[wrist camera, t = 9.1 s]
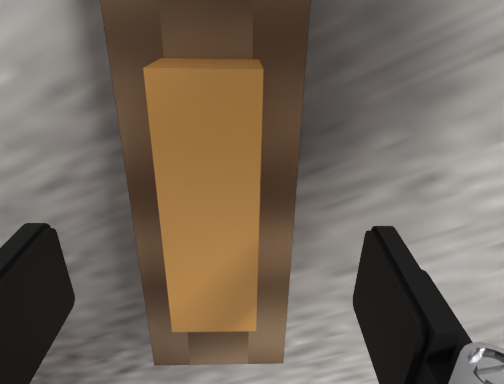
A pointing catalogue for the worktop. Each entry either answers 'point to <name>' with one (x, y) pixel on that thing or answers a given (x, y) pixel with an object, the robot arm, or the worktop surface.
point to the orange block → (208, 187)
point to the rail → (272, 151)
